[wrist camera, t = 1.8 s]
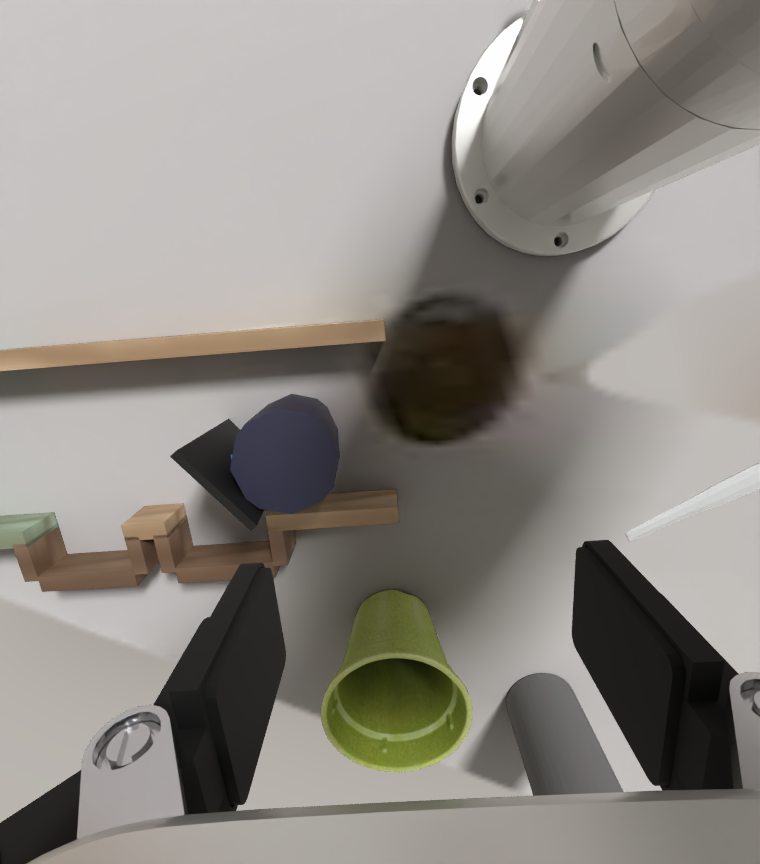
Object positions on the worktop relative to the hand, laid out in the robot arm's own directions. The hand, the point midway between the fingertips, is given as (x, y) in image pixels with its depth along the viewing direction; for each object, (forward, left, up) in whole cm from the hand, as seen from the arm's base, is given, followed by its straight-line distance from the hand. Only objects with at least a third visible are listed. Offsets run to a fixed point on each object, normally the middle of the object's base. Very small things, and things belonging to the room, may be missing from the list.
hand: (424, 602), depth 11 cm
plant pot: (+17, -2, -20) cm, 26 cm away
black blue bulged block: (0, -8, -20) cm, 22 cm away
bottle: (+26, +10, -20) cm, 34 cm away
